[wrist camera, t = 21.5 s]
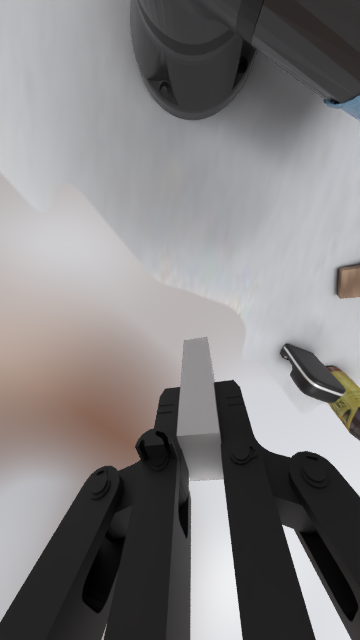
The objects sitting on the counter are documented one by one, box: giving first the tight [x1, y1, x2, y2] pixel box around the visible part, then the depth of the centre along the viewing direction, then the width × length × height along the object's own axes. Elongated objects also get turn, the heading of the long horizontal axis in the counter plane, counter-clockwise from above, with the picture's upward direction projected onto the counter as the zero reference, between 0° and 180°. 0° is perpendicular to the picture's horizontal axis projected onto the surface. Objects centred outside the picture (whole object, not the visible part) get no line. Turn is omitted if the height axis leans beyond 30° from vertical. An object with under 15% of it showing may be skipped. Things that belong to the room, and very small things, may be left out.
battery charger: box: [281, 344, 346, 403], centre depth 38 cm, size 7×4×11 cm, turn 69°
